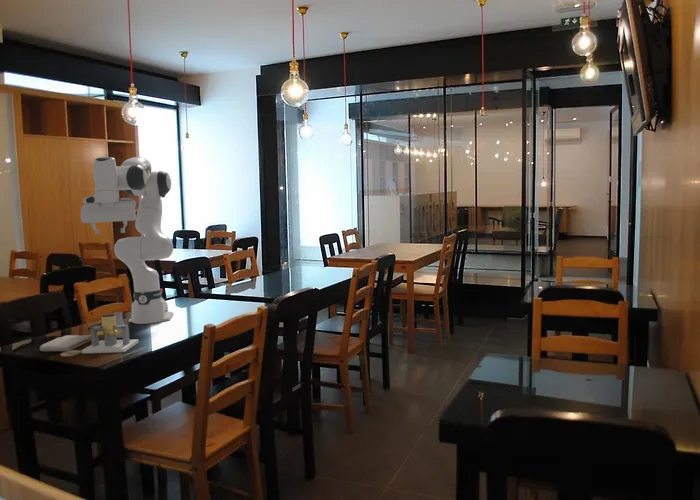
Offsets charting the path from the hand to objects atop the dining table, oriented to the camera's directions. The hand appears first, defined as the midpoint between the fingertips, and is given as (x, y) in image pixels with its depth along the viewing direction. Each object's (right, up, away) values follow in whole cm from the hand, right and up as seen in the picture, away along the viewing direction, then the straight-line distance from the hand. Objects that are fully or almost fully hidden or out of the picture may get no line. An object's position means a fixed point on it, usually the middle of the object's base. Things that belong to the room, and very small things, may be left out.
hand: (110, 233), depth 233 cm
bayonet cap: (+3, -39, -8) cm, 40 cm away
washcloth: (-16, -45, -1) cm, 48 cm away
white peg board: (+3, -44, -7) cm, 44 cm away
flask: (0, -42, +11) cm, 44 cm away
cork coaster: (-9, -45, -14) cm, 48 cm away
